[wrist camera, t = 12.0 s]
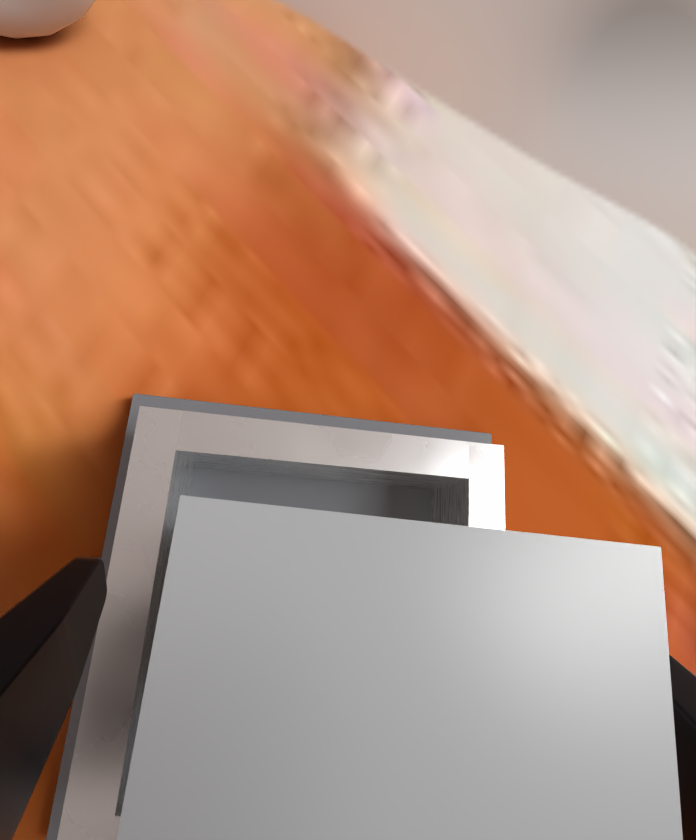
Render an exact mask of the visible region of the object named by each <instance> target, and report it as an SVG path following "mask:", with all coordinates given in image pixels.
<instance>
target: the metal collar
mask: <svg viewBox="0 0 696 840" xmlns="http://www.w3.org/2000/svg"><path fill="white" fill-rule="evenodd" d="M193 468H204V469H214V470H225V471H236V472H247V473H258V474H269V475H280V476H290V477H301V478H312V479H323V480H334V481H345V482H356V483H366V484H377V485H388V486H399V487H410V488H421V489H432V498H431V522H434V523H443V524H452V525H461V526H471V527H480V528H489V529H498V530H505V493H504V445H494V444H485V443H476V442H467V441H458V440H448V439H439V438H430V437H421V436H412V435H403V434H393V433H384V432H375V431H366V430H357V429H347V428H338V427H329V426H320V425H311V424H302V423H292V422H283V421H274V420H265V419H256V418H246V417H237V416H228V415H219V414H210V413H201V412H191V411H182V410H173V409H164V408H155V407H146V406H140V408H139V413H138V418H137V423H136V428H135V434H134V439H133V444H132V449H131V455H130V460H129V465H128V470H127V476H126V481H125V486H124V491H123V497H122V502H121V507H120V512H119V518H118V523H117V528H116V533H115V539H114V544H113V549H112V554H111V559H110V565H109V570H108V575H107V580H106V583H107V596H106V601H105V604H104V607H103V610H102V613H101V617H100V620H99V623H98V628H97V633H96V638H95V643H94V649H93V654H92V659H91V664H90V670H89V675H88V680H87V685H86V691H85V696H84V701H83V706H82V711H81V717H80V722H79V727H78V732H77V738H76V743H75V748H74V753H73V759H72V764H71V769H70V774H69V780H68V785H67V790H66V795H65V801H64V806H63V811H62V816H61V822H60V827H59V832H58V837H57V840H116V839H117V834H118V828H119V823H120V817H121V812H122V807H123V801H124V796H125V790H126V785H127V780H128V774H129V769H130V764H131V758H132V753H133V747H134V742H135V737H136V731H137V726H138V721H139V715H140V710H141V704H142V699H143V694H144V688H145V683H146V678H147V672H148V667H149V661H150V656H151V651H152V645H153V640H154V634H155V629H156V624H157V618H158V613H159V608H160V602H161V597H162V591H163V586H164V581H165V575H166V570H167V565H168V559H169V554H170V548H171V543H172V538H173V532H174V527H175V522H176V516H177V511H178V505H179V500H180V495H184V496H189V491H190V485H191V478H192V472H193Z"/></svg>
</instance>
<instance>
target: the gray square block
mask: <svg viewBox="0 0 696 840" xmlns="http://www.w3.org/2000/svg"><path fill="white" fill-rule="evenodd" d="M116 840H683V833H682V820H681V807H680V793H679V780H678V767H677V754H676V740H675V727H674V714H673V701H672V687H671V674H670V661H669V648H668V635H667V621H666V608H665V595H664V582H663V568H662V555H661V547H656V546H646V545H637V544H628V543H619V542H609V541H600V540H591V539H582V538H572V537H563V536H554V535H545V534H535V533H526V532H517V531H508V530H498V529H489V528H480V527H471V526H461V525H452V524H443V523H434V522H424V521H415V520H406V519H397V518H387V517H378V516H369V515H360V514H350V513H341V512H332V511H323V510H313V509H304V508H295V507H286V506H276V505H267V504H258V503H249V502H239V501H230V500H221V499H212V498H202V497H193V496H184V495H180V500H179V505H178V511H177V516H176V522H175V527H174V532H173V538H172V543H171V548H170V554H169V559H168V565H167V570H166V575H165V581H164V586H163V591H162V597H161V602H160V608H159V613H158V618H157V624H156V629H155V634H154V640H153V645H152V651H151V656H150V661H149V667H148V672H147V678H146V683H145V688H144V694H143V699H142V704H141V710H140V715H139V721H138V726H137V731H136V737H135V742H134V747H133V753H132V758H131V764H130V769H129V774H128V780H127V785H126V790H125V796H124V801H123V807H122V812H121V817H120V823H119V828H118V834H117V839H116Z"/></svg>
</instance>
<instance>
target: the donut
mask: <svg viewBox="0 0 696 840" xmlns="http://www.w3.org/2000/svg"><path fill="white" fill-rule="evenodd" d="M94 1H95V0H0V36H5V37H10V38H15V39H16V38H27V37H38V36H49V35H52V34H54V33H56V32H58V31H59V30H61V29H63V28H65V27H67V26H69V25H71V24H73V23H75V22H77V21H78V20H80V19H82V18H83V16H84V15H85V14H86V12H87V11H88V9H89V8H90V7H91V5H92V4H93V2H94Z"/></svg>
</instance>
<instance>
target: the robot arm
mask: <svg viewBox="0 0 696 840" xmlns="http://www.w3.org/2000/svg"><path fill="white" fill-rule="evenodd" d="M106 596H107V583H106V575H105V567H104V562H103V560H102V559H101V558H99V557H88V556H79V557H76V558H74V559H73V560H71V561H70V562H69V563H68V564H66V565H65V566H64V567H63V568H61V569H60V570H59V571H57V572H56V573H55V574H54V575H52V576H51V577H50V578H49V579H47V580H46V581H45V582H44V583H42V584H41V585H40V586H39V587H37V588H36V589H35V590H34V591H32V592H31V593H30V594H29V595H27V596H26V597H25V598H24V599H22V600H21V601H20V602H19V603H17V604H16V605H15V606H14V607H12V608H11V609H10V610H9V611H7V612H6V613H5V614H4V615H2V616H1V617H0V840H12V838H13V835H14V833H15V831H16V829H17V826H18V824H19V822H20V819H21V817H22V815H23V813H24V810H25V808H26V806H27V803H28V801H29V799H30V797H31V794H32V792H33V790H34V788H35V785H36V783H37V781H38V778H39V776H40V774H41V772H42V769H43V767H44V765H45V762H46V760H47V758H48V756H49V753H50V751H51V749H52V746H53V744H54V742H55V740H56V737H57V735H58V733H59V730H60V728H61V726H62V724H63V721H64V719H65V717H66V714H67V712H68V710H69V708H70V705H71V703H72V701H73V698H74V696H75V693H76V691H77V688H78V685H79V682H80V679H81V676H82V673H83V670H84V667H85V664H86V661H87V658H88V654H89V651H90V648H91V645H92V642H93V639H94V635H95V632H96V629H97V626H98V623H99V620H100V617H101V613H102V610H103V607H104V604H105V601H106ZM669 661H670V674H671V687H672V701H673V714H674V727H675V740H676V754H677V767H678V780H679V793H680V807H681V820H682V833H683V840H696V676H695V675H693V674H692V673H691V672H690V671H689V670H687V669H686V668H685V667H684V666H683V665H681V664H680V663H679V662H678V661H676V660H675V659H674V658H673V657H672V656H670V655H669Z"/></svg>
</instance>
